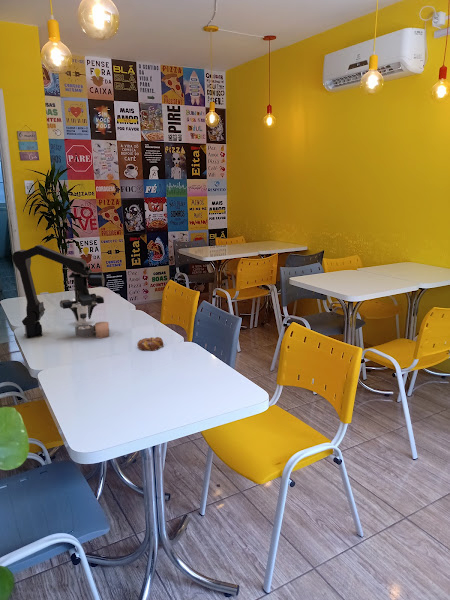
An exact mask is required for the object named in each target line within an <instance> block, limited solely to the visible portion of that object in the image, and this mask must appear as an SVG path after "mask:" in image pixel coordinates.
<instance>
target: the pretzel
mask: <svg viewBox="0 0 450 600" xmlns="http://www.w3.org/2000/svg"><path fill="white" fill-rule="evenodd" d="M136 344H137V348H138V349H139V350H141V351H156V350H155V349H157V350H159V349H158V348H159V347H160V346H162V347H163V346H164V341H163V339H162V337H160V336H155V337H149V338H148V337H145V338H142V339H139V340H138V342H137V343H136ZM160 348H161V347H160Z"/></svg>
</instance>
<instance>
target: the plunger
mask: <svg viewBox="0 0 450 600" xmlns="http://www.w3.org/2000/svg"><path fill="white" fill-rule="evenodd" d="M87 316H88V315H87ZM87 316H86V313H82V314H80V318H83V326H79V325H78V326H79V327H78V329H88V328H91V327H90V326H88V325H89V324H85V318H86V319H87V318H88V317H87Z"/></svg>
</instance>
